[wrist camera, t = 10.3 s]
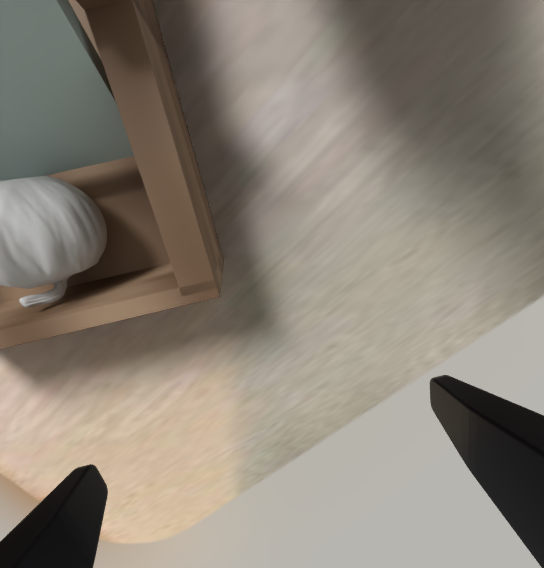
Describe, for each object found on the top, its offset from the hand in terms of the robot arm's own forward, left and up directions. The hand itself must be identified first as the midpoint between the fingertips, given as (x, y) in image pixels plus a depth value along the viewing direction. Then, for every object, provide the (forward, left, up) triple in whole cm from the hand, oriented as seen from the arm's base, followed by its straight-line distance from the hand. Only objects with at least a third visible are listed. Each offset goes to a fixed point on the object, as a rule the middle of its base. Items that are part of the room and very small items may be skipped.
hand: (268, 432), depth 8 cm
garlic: (+9, -8, -8) cm, 14 cm away
